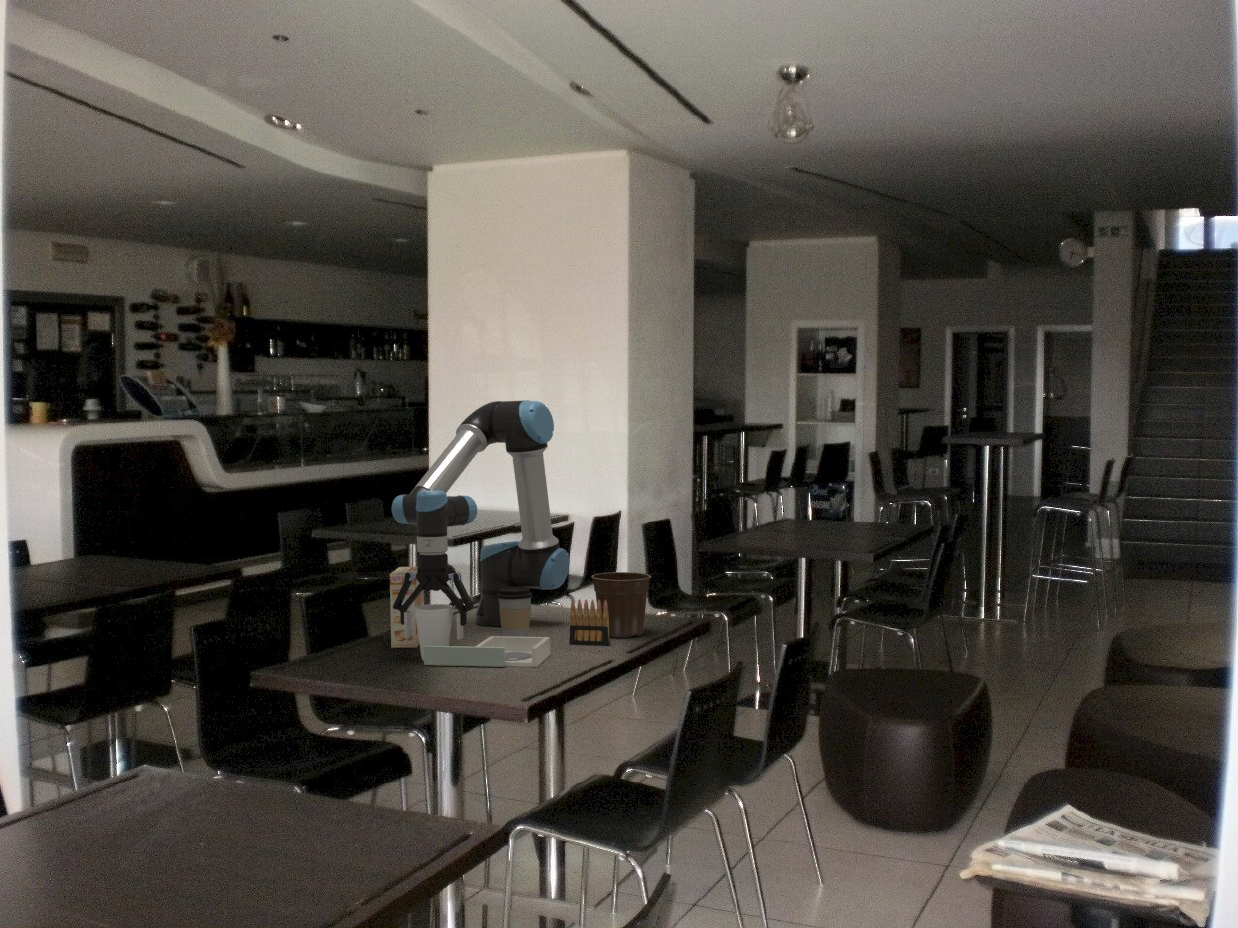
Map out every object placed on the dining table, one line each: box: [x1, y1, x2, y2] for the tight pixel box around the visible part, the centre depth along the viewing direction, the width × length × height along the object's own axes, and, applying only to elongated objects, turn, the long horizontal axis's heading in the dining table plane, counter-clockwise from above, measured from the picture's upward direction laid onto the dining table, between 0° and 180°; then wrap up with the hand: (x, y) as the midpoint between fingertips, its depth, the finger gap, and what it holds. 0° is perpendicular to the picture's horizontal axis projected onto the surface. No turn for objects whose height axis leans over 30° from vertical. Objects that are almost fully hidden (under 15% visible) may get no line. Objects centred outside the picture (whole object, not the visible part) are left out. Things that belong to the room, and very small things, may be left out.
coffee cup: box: [497, 587, 533, 637], centre depth 323 cm, size 9×9×15 cm
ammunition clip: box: [568, 598, 611, 647], centre depth 323 cm, size 11×2×12 cm, turn 76°
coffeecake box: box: [389, 566, 425, 649], centre depth 330 cm, size 15×7×20 cm, turn 0°
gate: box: [423, 645, 506, 668], centre depth 299 cm, size 1×20×4 cm, turn 80°
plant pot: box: [591, 571, 652, 639], centre depth 337 cm, size 16×16×16 cm
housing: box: [475, 635, 551, 668], centre depth 305 cm, size 14×15×4 cm
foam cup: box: [414, 603, 454, 662], centre depth 308 cm, size 10×9×13 cm
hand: (433, 638), depth 308 cm, fingers open, 13 cm apart
